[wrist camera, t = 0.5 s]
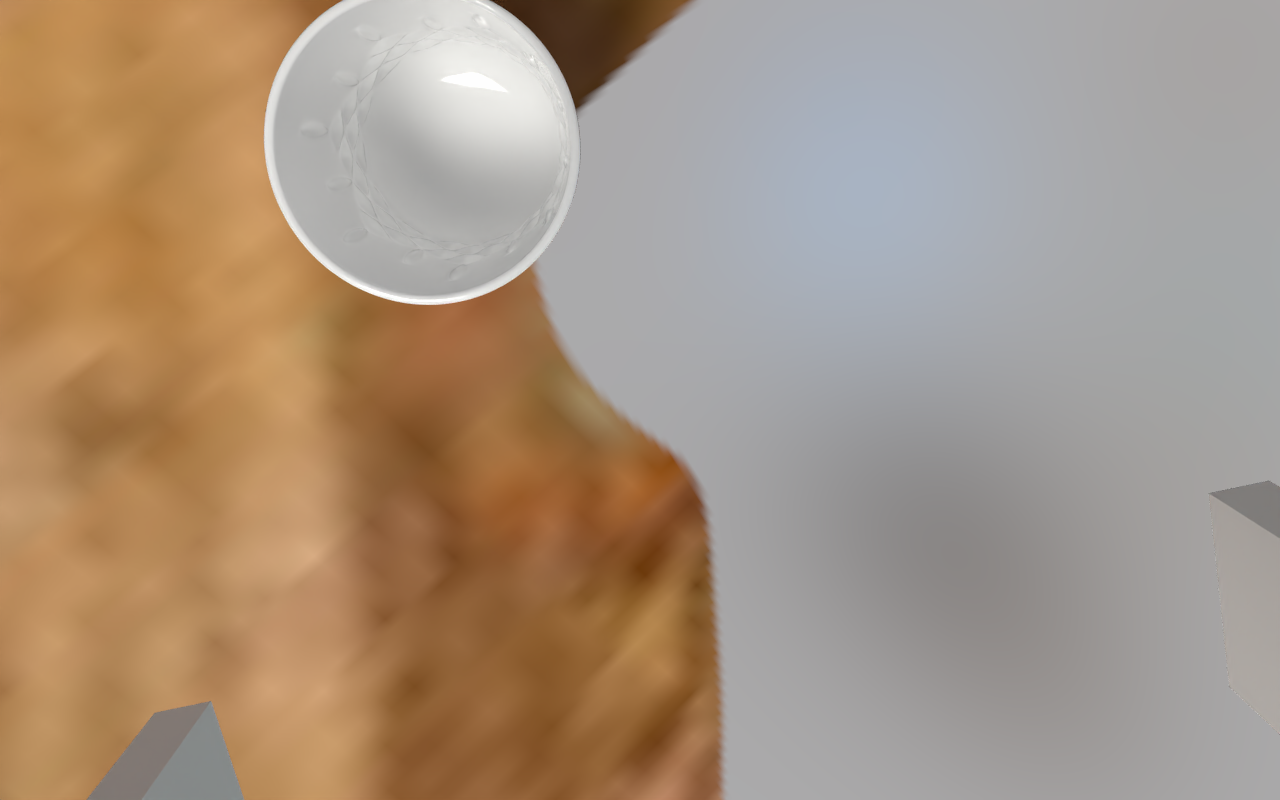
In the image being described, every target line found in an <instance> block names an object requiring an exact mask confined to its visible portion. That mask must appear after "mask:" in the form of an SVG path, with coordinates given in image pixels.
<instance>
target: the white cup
mask: <svg viewBox="0 0 1280 800" xmlns="http://www.w3.org/2000/svg"><path fill="white" fill-rule="evenodd" d="M264 149H265V159H266V165H267V170H268V175H269V179H270V182H271V186H272V189H273V192H274V195H275V197H276V200H277V202H278V205H279V207H280V209H281V211H282V213H283V215H284V217H285V219H286V220H287V222H288V224H289V225H290V227H291V228H292V230H293V232H294V233H295V234H296V236H297V237H298V238H299V240H300V241H301V242H302V244H303V245H304V246H305V247H306V248H307V249H308V250H309V252H310V253H311V254H312V255H313V256H314V257H315V258H316V259H317V260H318V261H319V262H321V263H322V264H323V265H324V266H325V267H326V268H328V269H329V270H330V271H331V272H333V273H334V274H336V275H337V276H338V277H340V278H341V279H343V280H345V281H346V282H348V283H350V284H351V285H353V286H355V287H357V288H359V289H361V290H363V291H366V292H368V293H371V294H373V295H376V296H379V297H382V298H385V299H389V300H393V301H397V302H403V303H409V304H421V305H437V304H448V303H455V302H460V301H465V300H469V299H472V298H475V297H478V296H481V295H484V294H486V293H489V292H491V291H493V290H495V289H497V288H499V287H501V286H503V285H505V284H506V283H508V282H510V281H511V280H513V279H514V278H516V277H517V276H518V275H520V274H521V273H522V272H524V271H525V270H526V269H527V268H528V267H529V266H530V265H532V264H533V263H534V262H535V261H536V260H537V259H538V258H539V256H540V255H541V254H542V253H543V252H544V251H545V250H546V248H547V247H548V246H549V244H550V243H551V242H552V240H553V239H554V237H555V236H556V234H557V233H558V231H559V229H560V228H561V226H562V224H563V222H564V220H565V218H566V216H567V213H568V211H569V209H570V206H571V203H572V200H573V197H574V194H575V190H576V186H577V181H578V175H579V168H580V132H579V125H578V119H577V114H576V110H575V106H574V102H573V99H572V96H571V93H570V90H569V88H568V85H567V83H566V81H565V79H564V77H563V74H562V73H561V71H560V69H559V67H558V65H557V64H556V62H555V60H554V59H553V57H552V56H551V54H550V53H549V51H548V50H547V49H546V47H545V46H544V45H543V43H542V42H541V41H540V40H539V39H538V38H537V36H536V35H535V34H534V33H533V32H532V31H531V30H530V29H529V28H528V27H527V26H526V25H525V24H523V23H522V22H521V21H520V20H519V19H518V18H516V17H515V16H514V15H512V14H511V13H510V12H508V11H507V10H505V9H504V8H502V7H501V6H499V5H497V4H496V3H494V2H492V1H490V0H343V1H341V2H339V3H337V4H336V5H334V6H333V7H331V8H330V9H328V10H327V11H325V12H324V13H323V14H322V15H320V16H319V17H318V18H317V19H316V20H314V21H313V22H312V23H311V24H310V25H309V26H308V27H307V28H306V29H305V30H304V32H303V33H302V34H301V35H300V36H299V37H298V39H297V40H296V41H295V43H294V44H293V45H292V47H291V48H290V50H289V51H288V53H287V55H286V56H285V58H284V60H283V62H282V64H281V66H280V68H279V70H278V72H277V74H276V77H275V79H274V82H273V85H272V88H271V91H270V95H269V99H268V103H267V108H266V115H265V125H264Z"/></svg>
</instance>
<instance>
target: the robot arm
mask: <svg viewBox="0 0 1280 800" xmlns="http://www.w3.org/2000/svg"><path fill="white" fill-rule="evenodd" d="M1209 501H1210V510H1211V519H1212V529H1213V539H1214V548H1215V557H1216V567H1217V575H1218V586H1219V595H1220V605H1221V614H1222V623H1223V633H1224V642H1225V652H1226V661H1227V671H1228V680H1229V687H1230V688H1231V689H1232V690H1233V691H1234V692H1235V693H1236V694H1237V695H1238V696H1240V698H1242V699H1243V700H1244V701H1245V702H1246V703H1247V704H1248V705H1249V706H1250V707H1251V708H1252V709H1253V710H1254V711H1256V712H1257V713H1258V714H1259V715H1260V716H1261V717H1262V718H1263V719H1264V720H1265V721H1266V722H1267V723H1268V724H1269V725H1270V726H1271V727H1272V728H1274V729H1275V730H1276V731H1277V732H1278V733H1279V734H1280V487H1279V486H1277V485H1275V484H1274V483H1272V482H1270V481H1265V482H1260V483H1255V484H1251V485H1246V486H1241V487H1236V488H1231V489H1227V490H1222V491H1217V492H1212V493H1209ZM87 800H244V798H243V795H242V792H241V789H240V786H239V783H238V780H237V777H236V774H235V771H234V768H233V765H232V762H231V759H230V756H229V753H228V750H227V747H226V744H225V741H224V738H223V735H222V732H221V729H220V726H219V723H218V720H217V717H216V715H215V712H214V709H213V706H212V703H211V701H209V702H205V703H200V704H195V705H190V706H185V707H181V708H176V709H171V710H166V711H161V712H157V713H154V714H153V716H152V717H151V718H150V720H149V721H148V722H147V723H146V725H145V726H144V727H143V728H142V730H141V731H140V732H139V734H138V735H137V736H136V737H135V739H134V740H133V741H132V742H131V744H130V745H129V746H128V748H127V749H126V750H125V751H124V753H123V754H122V755H121V756H120V758H119V759H118V760H117V762H116V763H115V764H114V765H113V767H112V768H111V769H110V770H109V772H108V773H107V774H106V776H105V777H104V778H103V779H102V781H101V782H100V783H99V784H98V786H97V787H96V788H95V790H94V791H93V792H92V793H91V795H90V796H89V797H88V799H87Z"/></svg>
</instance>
